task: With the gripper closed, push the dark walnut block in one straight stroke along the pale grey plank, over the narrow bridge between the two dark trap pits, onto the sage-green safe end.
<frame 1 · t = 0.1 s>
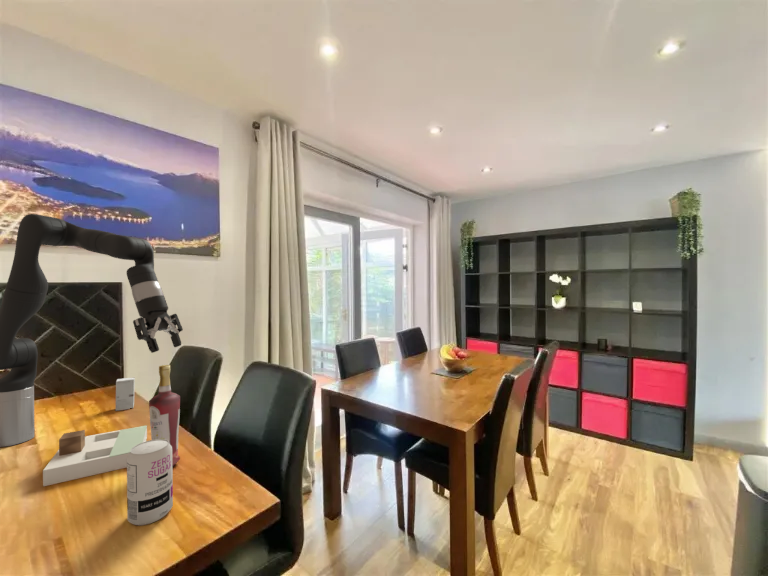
hand: (167, 348, 101), 31 cm above the table, tool tilted 20°, fingers open, 8 cm apart
trap plank: (102, 458, 98), on the table
walnut block: (72, 450, 95), point 4 cm above the table, touching trap plank
liquor: (165, 466, 94), on the table
supplement can: (150, 515, 74), on the table
skincare box: (125, 408, 139), on the table
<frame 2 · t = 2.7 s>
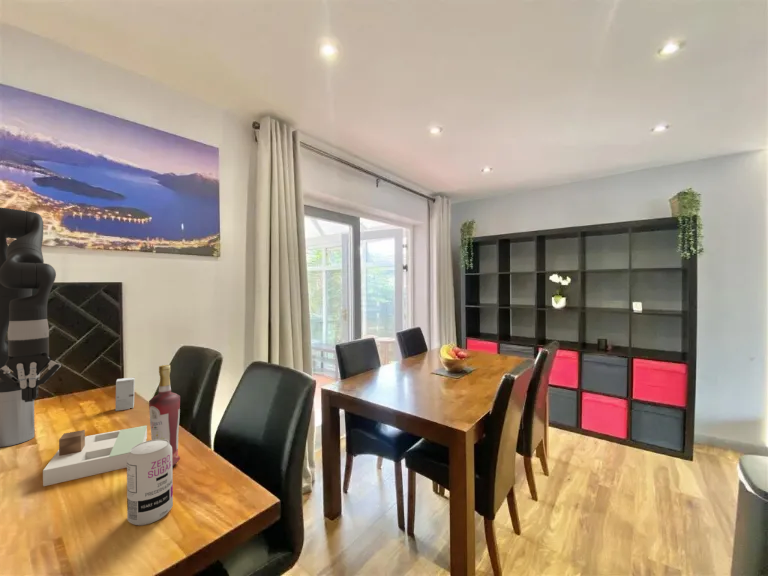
hand: (29, 400, 90), 20 cm above the table, tool pointing down, fingers closed
nothing on the table moved.
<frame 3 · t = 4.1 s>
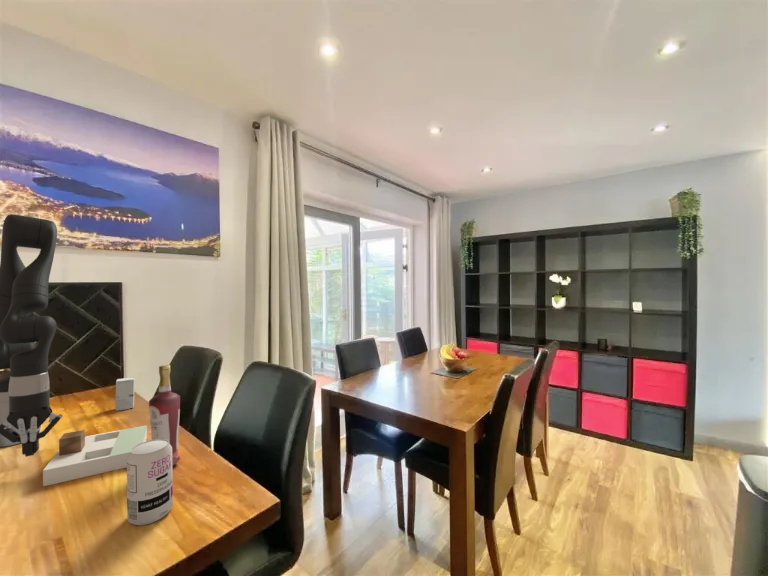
hand: (30, 454, 90), 5 cm above the table, tool pointing down, fingers closed
nothing on the table moved.
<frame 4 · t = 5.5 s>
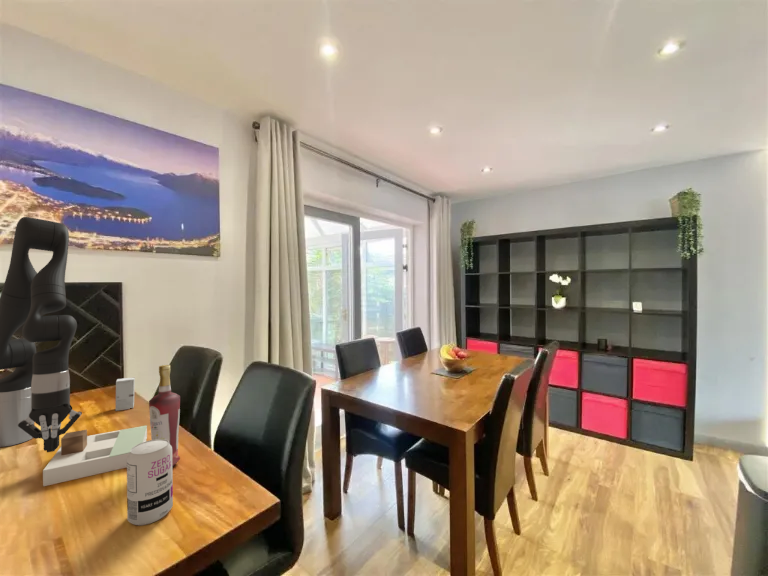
hand: (51, 450, 92), 5 cm above the table, tool pointing down, fingers closed
walnut block: (74, 450, 95), point 4 cm above the table, touching gripper
everything else where it was.
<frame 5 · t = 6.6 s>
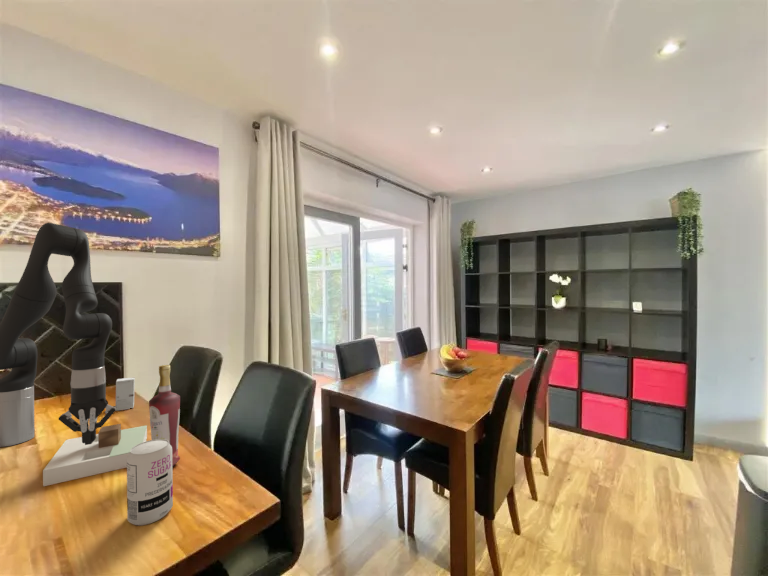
hand: (88, 443, 96), 5 cm above the table, tool pointing down, fingers closed
walnut block: (110, 443, 99), point 4 cm above the table, touching gripper
everything else where it was.
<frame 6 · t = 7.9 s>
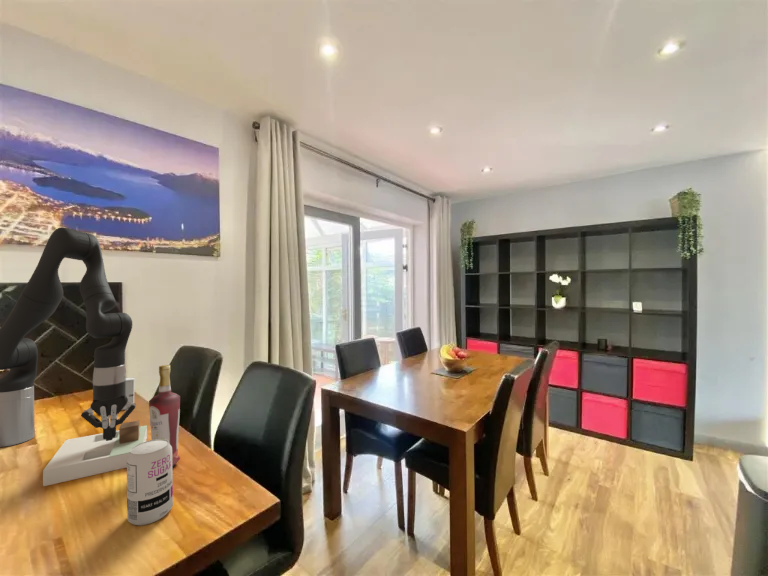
hand: (109, 439, 99), 5 cm above the table, tool pointing down, fingers closed
walnut block: (129, 439, 102), point 4 cm above the table, touching gripper, trap plank
everything else where it was.
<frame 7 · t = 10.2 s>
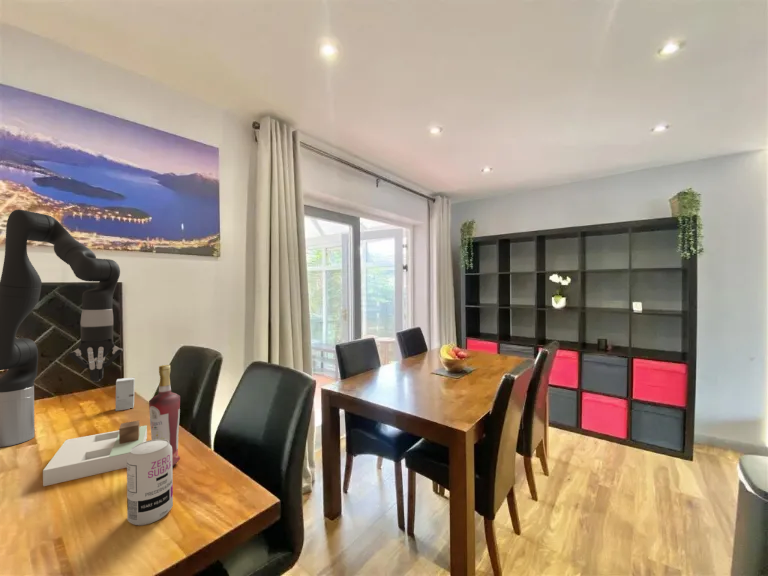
hand: (96, 381, 102), 22 cm above the table, tool pointing down, fingers closed
walnut block: (129, 439, 102), point 4 cm above the table, touching trap plank
everything else where it was.
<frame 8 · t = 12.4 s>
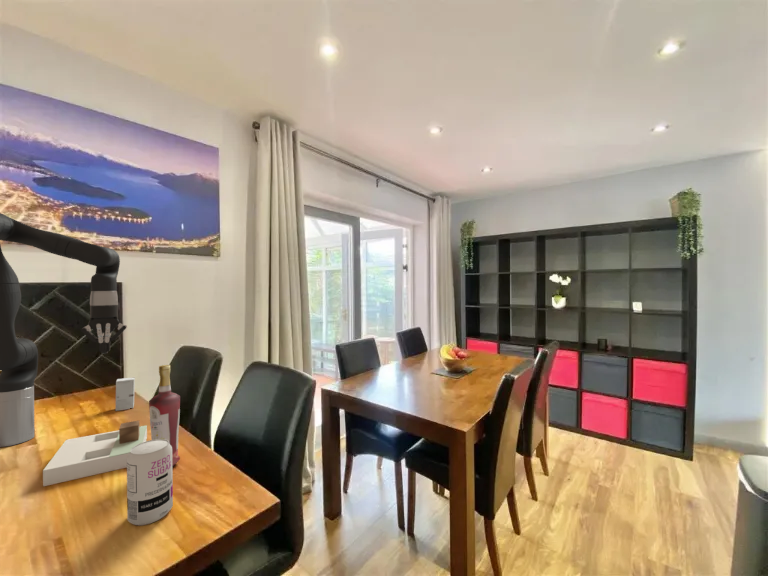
hand: (104, 353, 118), 27 cm above the table, tool pointing down, fingers closed
nothing on the table moved.
at the end: walnut block 0.5 cm from the target spot on the trap plank, point 4.0 cm above the trap plank's base; walnut block point 4.0 cm above the table; walnut block tilted 0° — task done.
